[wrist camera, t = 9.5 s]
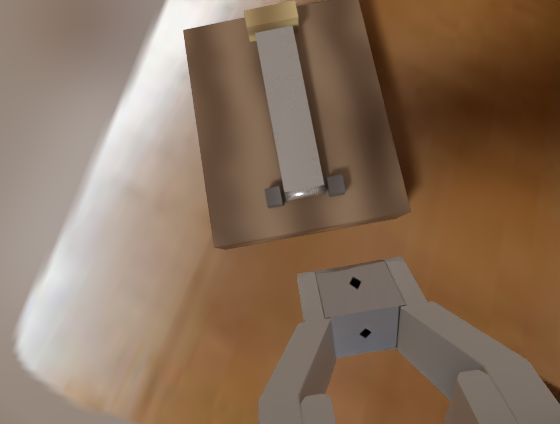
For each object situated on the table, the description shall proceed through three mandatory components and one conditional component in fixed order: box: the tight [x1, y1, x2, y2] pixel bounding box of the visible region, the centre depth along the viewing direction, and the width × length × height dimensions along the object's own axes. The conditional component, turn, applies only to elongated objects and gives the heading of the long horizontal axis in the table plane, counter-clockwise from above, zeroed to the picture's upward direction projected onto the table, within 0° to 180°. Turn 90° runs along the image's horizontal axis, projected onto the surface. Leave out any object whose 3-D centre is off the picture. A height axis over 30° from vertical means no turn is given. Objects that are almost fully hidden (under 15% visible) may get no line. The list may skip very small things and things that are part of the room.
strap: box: [255, 25, 326, 201], centre depth 27 cm, size 3×14×1 cm, turn 10°
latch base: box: [183, 0, 411, 250], centre depth 29 cm, size 16×20×6 cm
